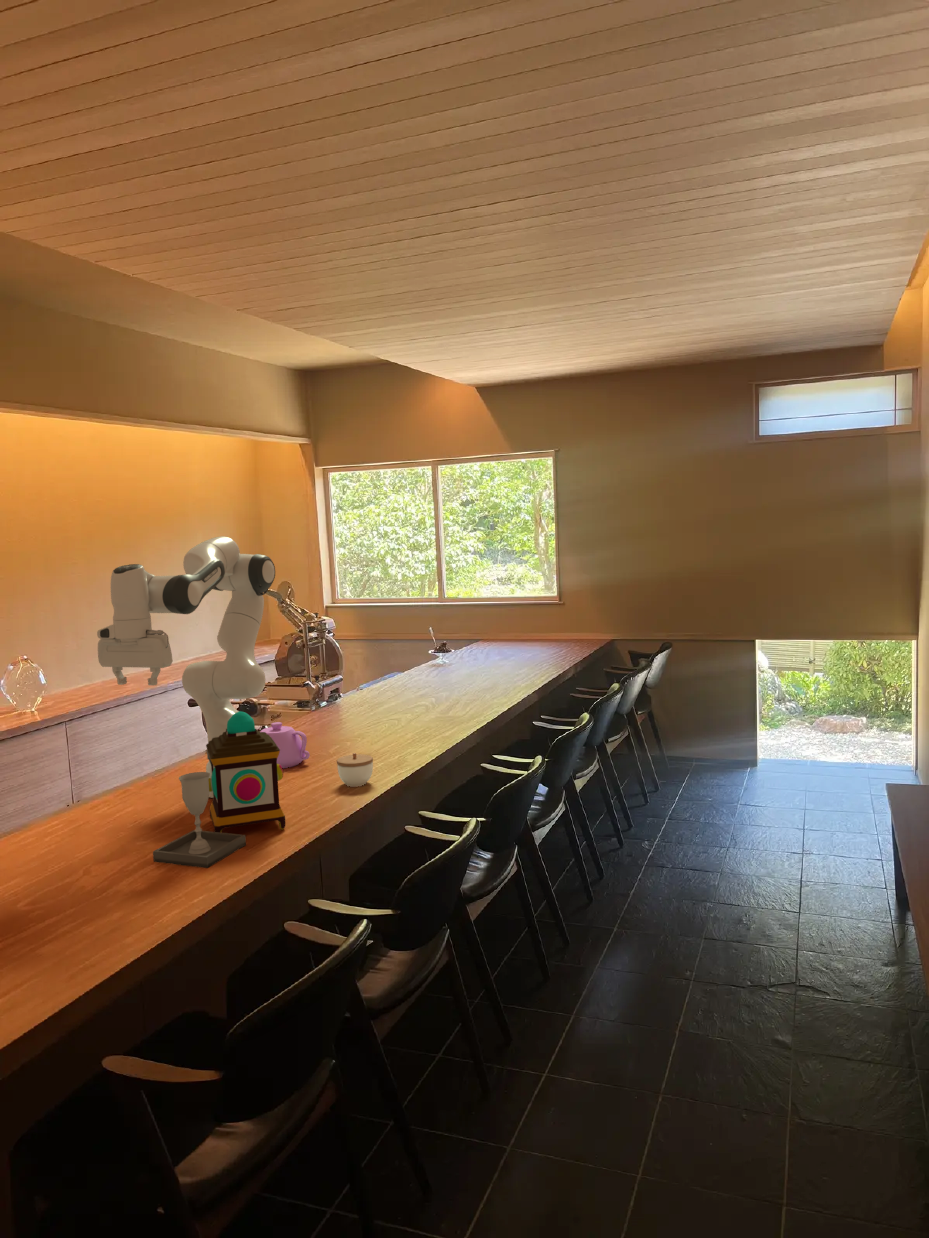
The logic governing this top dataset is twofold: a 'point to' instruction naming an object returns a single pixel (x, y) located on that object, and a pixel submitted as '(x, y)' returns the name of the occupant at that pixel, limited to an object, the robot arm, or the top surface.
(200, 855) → the tray
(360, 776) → the lidded jar
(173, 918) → the top surface
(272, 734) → the teapot
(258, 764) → the decorative lantern
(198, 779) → the chalice
